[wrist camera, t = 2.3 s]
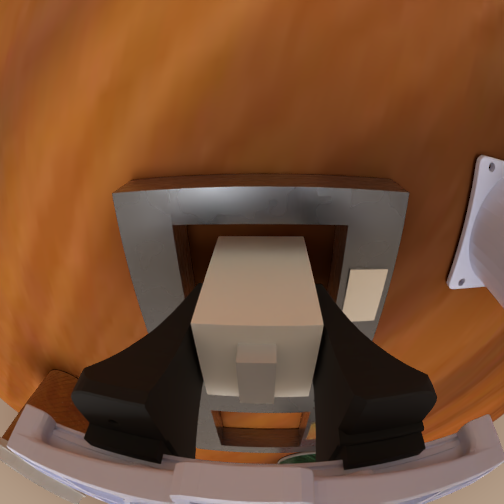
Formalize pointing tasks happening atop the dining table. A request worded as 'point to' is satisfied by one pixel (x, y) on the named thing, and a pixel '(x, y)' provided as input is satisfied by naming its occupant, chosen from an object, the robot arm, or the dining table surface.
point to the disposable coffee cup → (64, 413)
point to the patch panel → (261, 212)
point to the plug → (258, 319)
